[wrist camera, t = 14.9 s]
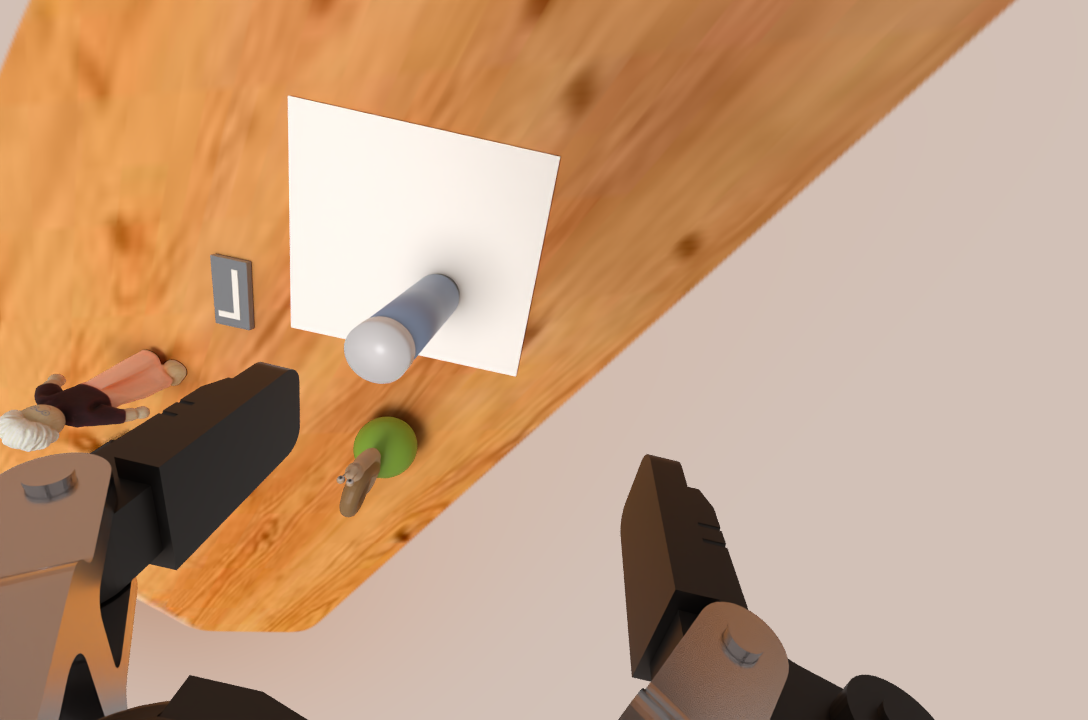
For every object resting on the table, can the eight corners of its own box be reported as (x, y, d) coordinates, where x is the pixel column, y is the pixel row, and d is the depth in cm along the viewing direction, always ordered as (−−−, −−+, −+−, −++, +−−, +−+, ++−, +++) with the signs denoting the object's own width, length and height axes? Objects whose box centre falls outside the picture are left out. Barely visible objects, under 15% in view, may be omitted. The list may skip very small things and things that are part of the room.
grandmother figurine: (196, 356, 43) (53, 429, 32) (199, 392, 45) (64, 475, 33) (112, 336, 43) (-62, 402, 31) (118, 373, 45) (-46, 449, 33)
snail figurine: (433, 408, 43) (382, 492, 32) (418, 462, 46) (366, 557, 35) (376, 389, 43) (305, 468, 32) (364, 444, 46) (295, 535, 35)
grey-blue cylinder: (420, 266, 38) (344, 316, 26) (465, 276, 38) (411, 330, 26) (416, 309, 39) (343, 376, 27) (459, 318, 39) (405, 389, 27)
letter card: (215, 253, 39) (209, 255, 38) (251, 261, 39) (245, 263, 39) (220, 320, 42) (215, 323, 41) (254, 327, 42) (249, 330, 41)
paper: (290, 96, 34) (287, 95, 34) (560, 156, 34) (560, 156, 34) (293, 326, 41) (291, 327, 41) (516, 374, 41) (515, 376, 41)
